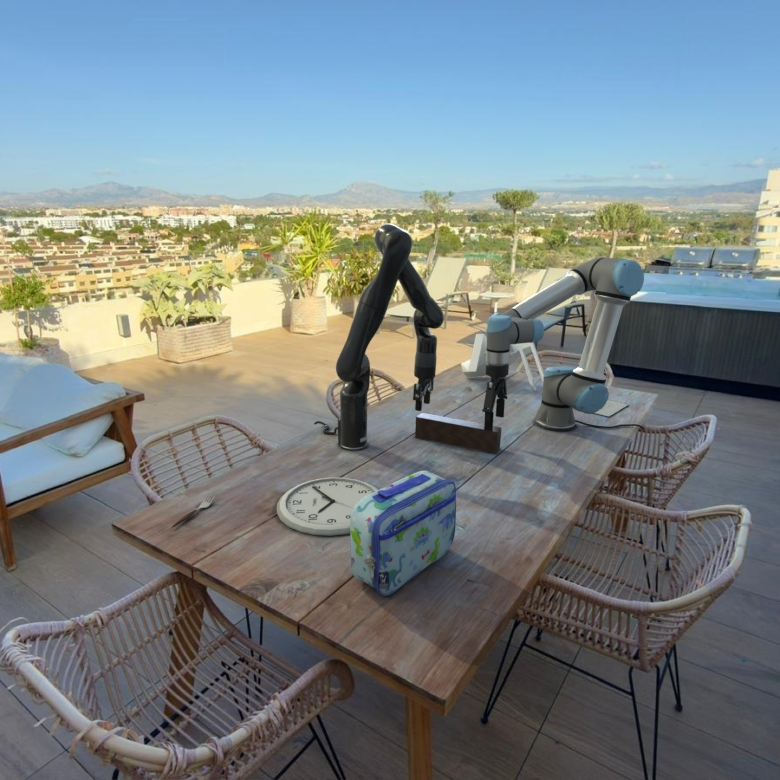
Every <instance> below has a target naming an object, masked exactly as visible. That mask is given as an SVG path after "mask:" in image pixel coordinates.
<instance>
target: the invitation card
mask: <svg viewBox="0 0 780 780" xmlns="http://www.w3.org/2000/svg"><path fill="white" fill-rule="evenodd" d="M628 406H629V404H627V403H623V402H618V401H614V400H609V399H608V400H607V402H606V404H605V405H604V407H603V408H602V409H600V410H598V411H597V412H595V413H594V414H596V415H600V416H604V417H608V418H609V417H611V416H613V415H614V414H616V413H617V412H619V411H621V410H623V409H624V408H626V407H628Z"/></svg>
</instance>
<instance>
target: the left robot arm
mask: <svg viewBox="0 0 780 780" xmlns="http://www.w3.org/2000/svg"><path fill="white" fill-rule="evenodd" d="M412 239H413V238H412V237H411V234H409V232H407V231H406V230H404V229H403V228H401V227H400V226H398V225H395V224H392V223H386V224H383V225H381V226H379V227H378V229H377V230H376V232H375V234H374V244H375V247H376V249H377V250H378V252H379V253H380V254H381V255H382V260H381V262H380V265H379V268H378V272H377V273H376V275H375V276H374V277H373V279H372V280H371V281H370V282H369V283H368V284H367V285H366V287H365V288H364V289H363V291H362V292H361V293H360V296H359V300H358V303H357V306H356V309H355V312H354V315H353V319H352V322H351V324H350V328H349V332H348V335H347V338H346V341H345V342H344V345H343V347H342V349H341V351H340V353H339V355H338V358H337V360H336V363H335V372H336V375H337V377H338V378H339V379H340V380H341V381H342V382H343V385H342V387H341V388H340V391H339V418H338V419H337V426H336V427H334V429H333V431H328V430H329V429H330V426H329V425H328V424H327V423H325V422H323V421H320V420H316V421H315V422H314V423H313V425H317V424H320V425H322V426H324V427H325V428H324V429H323V430H322V432H323V433H324V434H325V435H326V434H327V435H336V434H337V445H338V446H340V447H341V448H342V449H344V450H348V451H358V450H363V449H366V448H367V446H368V393H369V390H370V384H371V383H370V382H371V381H370V380H371V363H370V359H369V357H368V355H367V354H366V353H367V352H366V351H367V349H368V347H369V345H370V343H371V341H372V340H373V338H374V337H375V336H376V334H377V332H378V331H379V330H380V327H381V325H382V324H383V322H384V319H385V317H386V314H387V312H388V309H389V305H390V302H391V299H392V297H393V293H394V292H395V288H396V286H397V283H399V284H400V286H401V288H402V290H403V292H404V294H405V296H406V299H407V300H408V302H409V304H410V306H411V307H412V308H413V309H415V310H414V312H413V316H412V321H413V327H414V332H415V336H416V347H415V355H414V367H413V368H414V369H413V376H414V377H415V378H417V379H418V380H417V382H416V383H414V384H413V392H412V393H413V395H412V401H415V405H414V409H415V411H416V412H421V411H422V409H423V404H426V405H430V403H431V395H432V392H433V391H434V381H435V377H436V370H437V357H438V356H437V347H438V337H437V336H436V335H435V334H433V333H432V332H431V331H430V329H433V330H435V329H436V330H437V329H440V328H441V327H442V326H443V324H444V319H445V316H444V315H445V314H444V311H443V310H442V308H441V307H440V305H439V304H438V303H437V302H436V301H435V299H434V298H433V297H432V296H431V294H430V291H429V290H428V288H427V286H426V283H425V282H424V280H423V278H422V276H421V274H420V273H419V272H418V271H417V269H416V268H415V267H414V265H413V263H412V262H411V260H410V259H409V257H410V255H411V253H412V250H413V249H412V248H413V240H412ZM325 425H327V426H325Z"/></svg>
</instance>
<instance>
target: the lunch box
mask: <svg viewBox="0 0 780 780" xmlns="http://www.w3.org/2000/svg"><path fill="white" fill-rule="evenodd" d="M456 519H457V488H456V484H455V482H454V480H452V479H449V478H448V479H447V478H446V479H445V478H442V477H440V476H439V475H437V474H434V473H432V471H428V470H419V471H417V472H414V473H412V474H410V475H407V476H405V477H403V478H400V479H399V480H396V481H394V482H392V483H390V484H388V485H386V486H384V487H382V488H380V489H379V490H378V491H376V492H374V493H372V494H370V495H367V496H365V497H364V498H362V499H360V500H359V501H358V502H357V503H356V505H355V506H354V508H353V510H352V513H351V517H350V533H349V540H350V566H351V573H352V575H353V577H354V578H355V579H357V580H359V581H362V582H363V583H365V584H367V585H368V586H370V587H371V588H373V589H374V590H375V592H376V593H378V594H379V595H381V596H386V597H387V596H390V595H392V594H394V593H395V592H396V591H398V590H399V589H400V588H401V587H402V586H404V585H405V584H407V583H408V582H409V581H411V580H412V579H413V578H415V577H416V576H418V575H419V574H420V573H421V572H423V571H424V570H425V569H426V568H428V566H430V565H432V564H434V563H435V562H437V561H438V560H440V559H441V558H442V557H444V556H445V555H446V554H447V553H448V552H449V550H450V548H451V547H452V545H453V542H454V539H455V535H456V524H457V523H456V522H457V520H456Z"/></svg>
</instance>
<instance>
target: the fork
mask: <svg viewBox="0 0 780 780" xmlns="http://www.w3.org/2000/svg"><path fill="white" fill-rule="evenodd" d="M216 495H217V494H212V493H208V494H207V495H206V497H205V498H204V499H203V501H202V502H201V503H200V505H198V507H197V508H196V509H193V510H192V511H190V512H188V513H187V514H185V515H183V517H181V518H180V519H179V520H178V521H176V522H175V523H174V524H173V525H172V526H171V529H173V528H175V527H176V526H178V525H179V524H181V523H183V522H184V521H186V520H188V519H189V518H191V517H192V516H193V515H194V514H195V513H197V511H198V510H200V509H207V508H208V507H210V505H211V504H212V502H213V501H214V499H215V497H216Z"/></svg>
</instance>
